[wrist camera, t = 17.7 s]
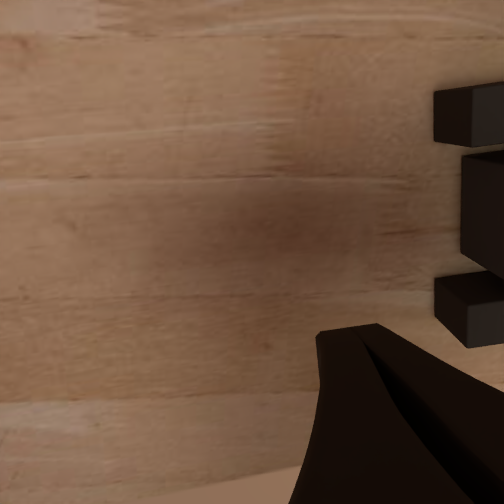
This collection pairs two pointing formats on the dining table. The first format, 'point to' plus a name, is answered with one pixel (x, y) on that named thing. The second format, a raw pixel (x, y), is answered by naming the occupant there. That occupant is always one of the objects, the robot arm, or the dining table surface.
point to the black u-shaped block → (483, 283)
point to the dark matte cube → (483, 210)
